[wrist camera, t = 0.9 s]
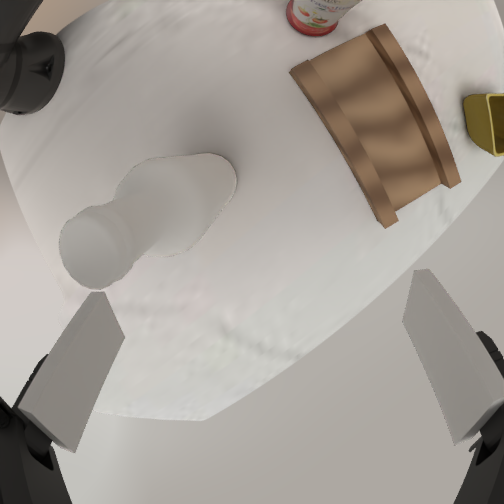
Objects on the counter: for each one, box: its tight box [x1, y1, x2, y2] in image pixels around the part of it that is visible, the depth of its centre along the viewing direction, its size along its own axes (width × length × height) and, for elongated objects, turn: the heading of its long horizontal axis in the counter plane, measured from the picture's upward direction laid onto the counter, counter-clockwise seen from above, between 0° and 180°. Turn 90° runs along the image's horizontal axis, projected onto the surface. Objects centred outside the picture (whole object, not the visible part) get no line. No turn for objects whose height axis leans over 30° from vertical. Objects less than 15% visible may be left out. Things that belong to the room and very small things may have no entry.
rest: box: [289, 24, 461, 229], centre depth 33 cm, size 25×15×3 cm, turn 35°
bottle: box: [59, 153, 237, 290], centre depth 26 cm, size 8×8×30 cm
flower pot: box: [463, 93, 504, 157], centre depth 28 cm, size 9×9×9 cm
